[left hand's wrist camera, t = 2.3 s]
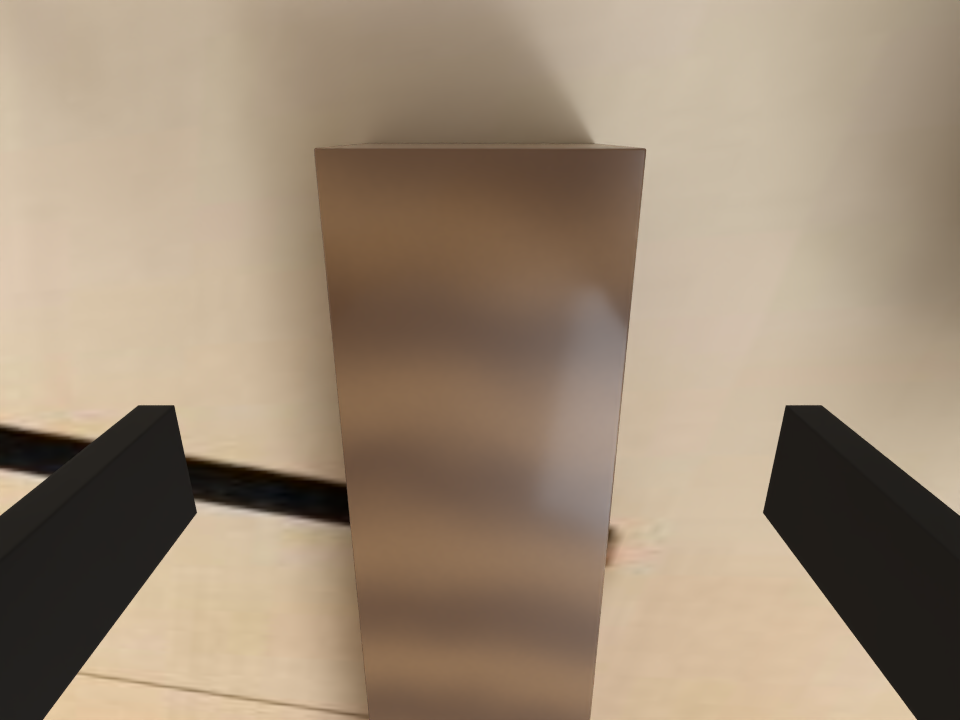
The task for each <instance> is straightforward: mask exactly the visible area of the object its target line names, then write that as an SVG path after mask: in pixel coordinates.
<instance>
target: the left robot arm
mask: <svg viewBox="0 0 960 720" xmlns="http://www.w3.org/2000/svg"><path fill="white" fill-rule="evenodd" d="M196 513H197V511H196V506H195V502H194V497H193V492H192V487H191V483H190V478H189V473H188V469H187V464H186V459H185V454H184V450H183V445H182V440H181V436H180V431H179V426H178V421H177V417H176V412H175V407H174V405H138V406H137V407H136V408H135V409H133V410H132V411H131V412H130V413H128V414H127V415H126V416H125V417H123V418H122V419H121V420H120V421H118V422H117V423H116V424H115V425H113V426H112V427H111V428H110V429H108V430H107V431H106V432H105V433H103V434H102V435H101V436H100V437H98V438H97V439H96V440H95V441H93V442H92V443H91V444H90V445H88V446H87V447H86V448H85V449H83V450H82V451H81V452H79V453H78V454H77V455H76V456H74V457H73V458H72V459H71V460H69V461H68V462H67V463H66V464H64V465H63V466H62V467H61V468H59V469H58V470H57V471H56V472H54V473H53V474H52V475H51V476H49V477H48V478H47V479H46V480H44V481H43V482H42V483H41V484H39V485H38V486H37V487H36V488H34V489H33V490H32V491H31V492H29V493H28V494H27V495H26V496H24V497H23V498H22V499H21V500H19V501H18V502H17V503H16V504H14V505H13V506H12V507H11V508H9V509H8V510H7V511H6V512H4V513H3V514H2V515H1V516H0V720H43V719H44V718H45V716H46V715H47V713H48V712H49V711H50V709H51V708H52V707H53V705H54V704H55V703H56V701H57V700H58V699H59V697H60V696H61V695H62V693H63V692H64V691H65V689H66V688H67V687H68V685H69V684H70V683H71V681H72V680H73V679H74V677H75V676H76V675H77V673H78V672H79V671H80V669H81V668H82V666H83V665H84V664H85V662H86V661H87V660H88V658H89V657H90V656H91V654H92V653H93V652H94V650H95V649H96V648H97V646H98V645H99V644H100V642H101V641H102V640H103V638H104V637H105V636H106V634H107V633H108V632H109V630H110V629H111V628H112V626H113V625H114V623H115V622H116V621H117V619H118V618H119V617H120V615H121V614H122V613H123V611H124V610H125V609H126V607H127V606H128V605H129V603H130V602H131V601H132V599H133V598H134V597H135V595H136V594H137V593H138V591H139V590H140V589H141V587H142V586H143V585H144V583H145V582H146V581H147V579H148V578H149V576H150V575H151V574H152V572H153V571H154V570H155V568H156V567H157V566H158V564H159V563H160V562H161V560H162V559H163V558H164V556H165V555H166V554H167V552H168V551H169V550H170V548H171V547H172V546H173V544H174V543H175V542H176V540H177V539H178V538H179V536H180V535H181V533H182V532H183V531H184V529H185V528H186V527H187V525H188V524H189V523H190V521H191V520H192V519H193V517H194V516H195V515H196ZM763 513H764V515H765V516H766V517H767V519H768V520H769V521H770V523H771V524H772V525H773V527H774V528H775V529H776V531H777V532H778V533H779V535H780V536H781V538H782V539H783V540H784V542H785V543H786V544H787V546H788V547H789V548H790V550H791V551H792V552H793V554H794V555H795V556H796V558H797V559H798V560H799V562H800V563H801V564H802V566H803V567H804V568H805V570H806V571H807V572H808V574H809V575H810V576H811V578H812V579H813V581H814V582H815V583H816V585H817V586H818V587H819V589H820V590H821V591H822V593H823V594H824V595H825V597H826V598H827V599H828V601H829V602H830V603H831V605H832V606H833V607H834V609H835V610H836V611H837V613H838V614H839V615H840V617H841V618H842V619H843V621H844V622H845V623H846V625H847V626H848V628H849V629H850V630H851V632H852V633H853V634H854V636H855V637H856V638H857V640H858V641H859V642H860V644H861V645H862V646H863V648H864V649H865V650H866V652H867V653H868V654H869V656H870V657H871V658H872V660H873V661H874V662H875V664H876V665H877V666H878V668H879V669H880V671H881V672H882V673H883V675H884V676H885V677H886V679H887V680H888V681H889V683H890V684H891V685H892V687H893V688H894V689H895V691H896V692H897V693H898V695H899V696H900V697H901V699H902V700H903V701H904V703H905V704H906V705H907V707H908V708H909V709H910V711H911V712H912V713H913V715H914V716H915V718H916V719H917V720H960V516H959V515H958V514H957V513H956V512H954V511H953V510H952V509H951V508H949V507H948V506H947V505H946V504H944V503H943V502H942V501H941V500H939V499H938V498H937V497H936V496H934V495H933V494H932V493H931V492H929V491H928V490H927V489H926V488H924V487H923V486H922V485H921V484H919V483H918V482H917V481H916V480H914V479H913V478H912V477H911V476H909V475H908V474H907V473H906V472H904V471H903V470H902V469H901V468H899V467H898V466H897V465H896V464H894V463H893V462H892V461H891V460H889V459H888V458H887V457H886V456H884V455H883V454H882V453H881V452H879V451H878V450H877V449H875V448H874V447H873V446H872V445H870V444H869V443H868V442H867V441H865V440H864V439H863V438H862V437H860V436H859V435H858V434H857V433H855V432H854V431H853V430H852V429H850V428H849V427H848V426H847V425H845V424H844V423H843V422H842V421H840V420H839V419H838V418H837V417H835V416H834V415H833V414H832V413H830V412H829V411H828V410H827V409H825V408H824V407H823V406H822V405H786V407H785V412H784V417H783V421H782V426H781V431H780V436H779V440H778V445H777V450H776V454H775V459H774V464H773V469H772V473H771V478H770V483H769V487H768V492H767V497H766V502H765V506H764V511H763Z"/></svg>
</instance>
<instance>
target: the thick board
mask: <svg viewBox="0 0 960 720" xmlns="http://www.w3.org/2000/svg"><path fill="white" fill-rule="evenodd" d="M314 154H315V164H316V175H317V185H318V195H319V205H320V216H321V226H322V236H323V247H324V257H325V267H326V278H327V288H328V298H329V308H330V319H331V329H332V339H333V350H334V360H335V370H336V381H337V391H338V401H339V411H340V422H341V432H342V442H343V453H344V463H345V473H346V483H347V494H348V504H349V514H350V525H351V535H352V545H353V556H354V566H355V576H356V586H357V597H358V607H359V617H360V628H361V638H362V648H363V659H364V669H365V679H366V689H367V700H368V710H369V720H590V715H591V705H592V695H593V685H594V675H595V665H596V654H597V644H598V634H599V624H600V614H601V604H602V593H603V583H604V573H605V563H606V553H607V543H608V532H609V522H610V512H611V502H612V492H613V482H614V471H615V461H616V451H617V441H618V431H619V421H620V411H621V400H622V390H623V380H624V370H625V360H626V350H627V339H628V329H629V319H630V309H631V299H632V289H633V278H634V268H635V258H636V248H637V238H638V228H639V218H640V207H641V197H642V187H643V177H644V167H645V157H646V149H645V148H635V147H625V146H615V145H604V144H476V143H365V144H354V145H344V146H333V147H323V148H315V149H314Z"/></svg>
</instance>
